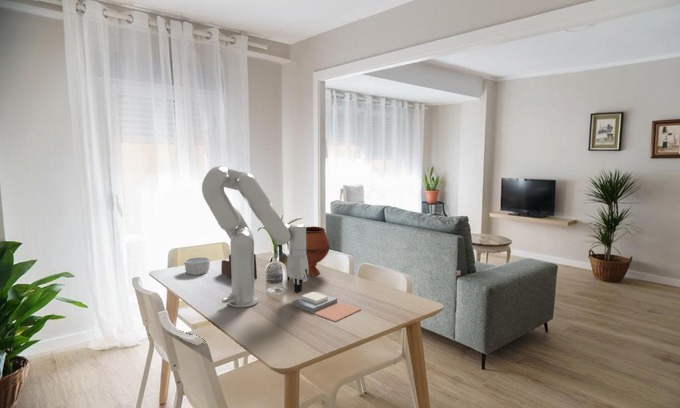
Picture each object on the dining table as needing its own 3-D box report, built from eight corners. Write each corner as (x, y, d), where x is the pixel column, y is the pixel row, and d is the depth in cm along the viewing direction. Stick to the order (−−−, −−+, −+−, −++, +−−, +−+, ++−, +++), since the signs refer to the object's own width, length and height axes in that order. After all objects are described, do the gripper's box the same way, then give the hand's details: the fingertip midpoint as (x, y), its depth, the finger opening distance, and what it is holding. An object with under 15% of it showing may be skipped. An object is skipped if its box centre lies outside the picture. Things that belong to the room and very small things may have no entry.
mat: (335, 322, 148) (335, 321, 148) (313, 313, 156) (313, 312, 156) (360, 309, 160) (360, 309, 160) (338, 302, 168) (338, 301, 168)
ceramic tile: (316, 304, 161) (316, 300, 161) (301, 299, 167) (301, 295, 167) (327, 299, 166) (327, 296, 166) (312, 294, 172) (312, 291, 172)
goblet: (292, 279, 201) (292, 231, 198) (295, 268, 220) (295, 225, 217) (329, 279, 201) (329, 232, 198) (329, 268, 220) (329, 225, 217)
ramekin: (192, 268, 219) (192, 256, 218) (214, 269, 217) (214, 257, 216) (179, 275, 206) (179, 262, 205) (203, 276, 204) (202, 263, 203)
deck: (313, 313, 157) (313, 308, 157) (293, 305, 165) (293, 301, 164) (337, 302, 168) (337, 298, 168) (317, 296, 176) (317, 292, 176)
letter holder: (237, 270, 215) (237, 246, 214) (257, 278, 201) (256, 252, 199) (221, 274, 208) (220, 248, 207) (240, 283, 194) (239, 255, 193)
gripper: (280, 251, 173) (280, 290, 175) (303, 256, 163) (303, 298, 166) (292, 248, 179) (293, 286, 181) (315, 253, 169) (315, 293, 171)
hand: (298, 292), depth 173 cm, fingers closed
